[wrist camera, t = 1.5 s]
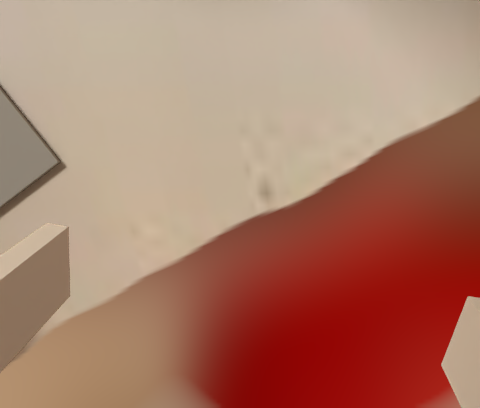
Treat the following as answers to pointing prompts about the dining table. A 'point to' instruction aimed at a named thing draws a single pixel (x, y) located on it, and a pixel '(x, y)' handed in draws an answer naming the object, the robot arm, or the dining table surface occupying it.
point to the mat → (20, 152)
